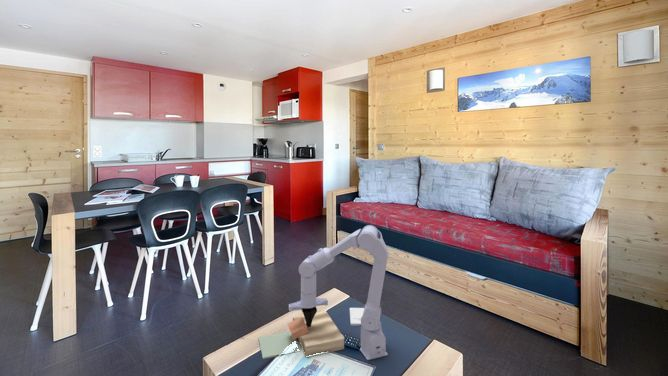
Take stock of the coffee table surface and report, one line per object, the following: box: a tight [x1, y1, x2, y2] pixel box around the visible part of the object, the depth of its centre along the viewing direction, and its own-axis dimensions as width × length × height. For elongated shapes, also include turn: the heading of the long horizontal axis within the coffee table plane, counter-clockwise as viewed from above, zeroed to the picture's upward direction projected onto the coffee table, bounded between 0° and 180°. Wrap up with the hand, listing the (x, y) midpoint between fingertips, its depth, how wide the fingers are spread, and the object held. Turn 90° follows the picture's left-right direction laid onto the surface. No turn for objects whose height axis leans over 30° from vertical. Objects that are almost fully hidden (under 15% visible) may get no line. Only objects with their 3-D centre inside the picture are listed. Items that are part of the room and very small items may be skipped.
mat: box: [258, 330, 301, 360], centre depth 112 cm, size 12×13×1 cm
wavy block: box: [292, 310, 345, 357], centre depth 117 cm, size 20×14×4 cm
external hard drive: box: [349, 307, 364, 327], centre depth 131 cm, size 2×8×12 cm
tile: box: [287, 317, 309, 340], centre depth 114 cm, size 7×6×2 cm
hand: (308, 325), depth 116 cm, fingers closed
